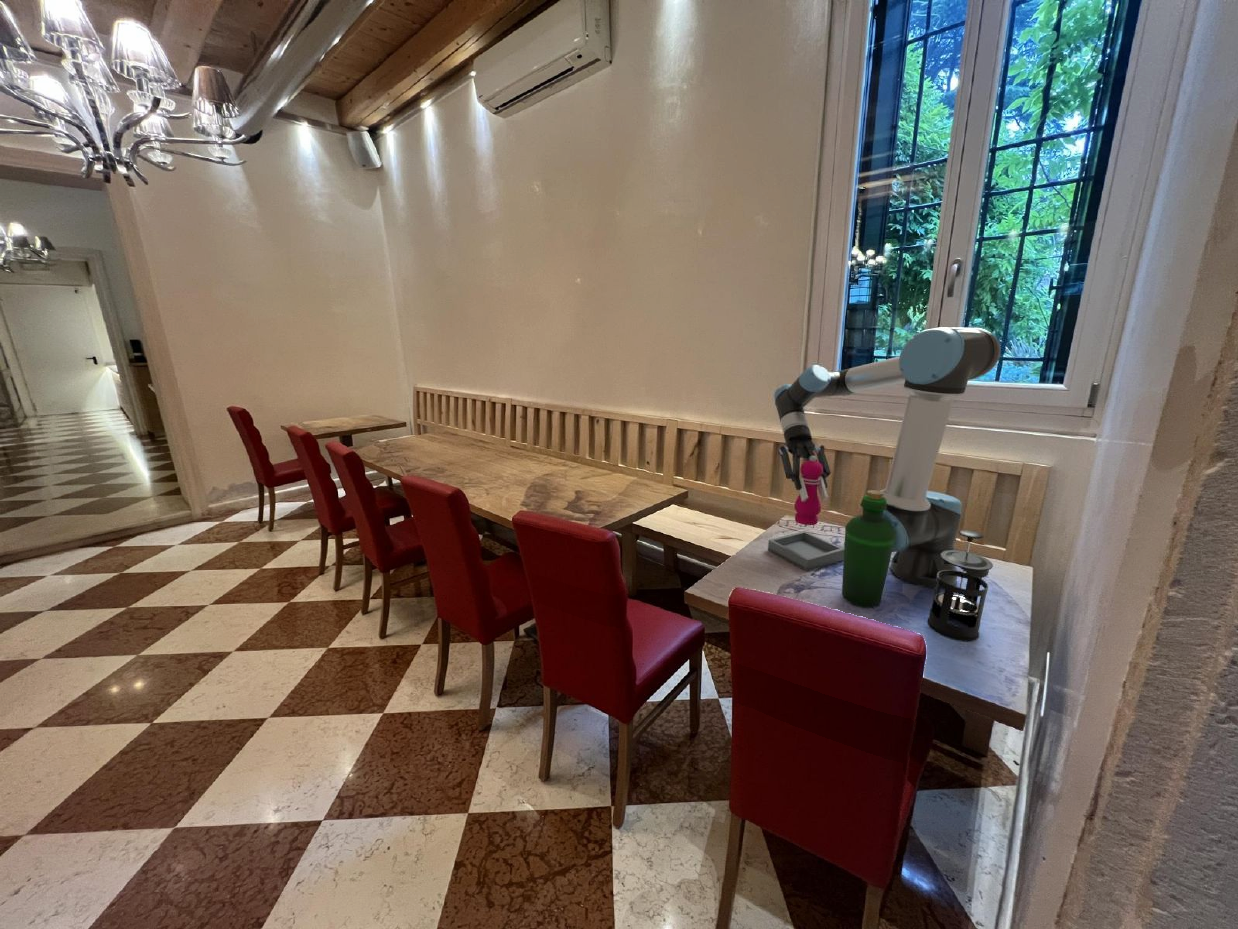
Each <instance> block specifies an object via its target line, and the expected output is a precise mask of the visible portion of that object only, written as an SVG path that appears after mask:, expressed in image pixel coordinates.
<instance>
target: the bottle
mask: <svg viewBox="0 0 1238 929" xmlns="http://www.w3.org/2000/svg"><path fill="white" fill-rule="evenodd" d="M882 496H883V492H881V490H875V489H870V490H869V489H868V490H867V494H864V495H863V497H862V499H861V502H860V506H861V508H862V514H863V515H862V514H859V515H857V516H854V517H852V518H851V519H850V520H849V521H848V522H847V524H845V529H844V530H845V531H844V533H845V534H844V545H843V546H844V547H843V548H844V560H843V563H842V564H843V565H842V566H843V567H842V582H841V583H842V585H841V588H842V589H841V595H842V598H843V599H844V600H845V601H846V602H849V603H850V604H852V605H853V606H858V607H860V606H861V607H860V608H869V607H870V608H871V609H872V608H876V607H879V606H880V604H881V602H882V598H883V592H884V590H885V584H886V581H887V576H888V570H889V566H890V564H891V559H892V558H891V556H892V553H893V552H892V549H893V545H894V540H895V536H896V531H895V529H894V528H893V526H892V525H891V524H890V523H889V522H888V521H886V520H885V519H884V518H882V515H883V511H884V510H886V509H887V503H886V498H885V497H882Z"/></svg>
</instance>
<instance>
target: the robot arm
mask: <svg viewBox="0 0 1238 929" xmlns="http://www.w3.org/2000/svg"><path fill="white" fill-rule="evenodd" d="M1001 348H1002V347H1001V344H1000V341H999V339H998V338H997V337H996V336H995V335H994V334H993V333H992V332H990V331H989V330H987V329H984V328H980V327H947V326H945V327H935V328H929V329H925V330H922V331H920V332H918V333H916V334H915V335H914V336H911V338H909V339H908V340H907V341H906V343H905V344H904V346H903V348H902V350H901V351H900V353H899V356H896V357H891V358H887V359H884V360H878V361H875V362H871V363H867V364H866V363H865V364H862V365H858V366H853V367H851V368H845V369H841V370H836V371H835V370H834V371H828V370H827V369H826V368H825V367H824V366H820V365H819V364H812V365H810V366H809V367H808V368H806V369H805V370H804V371H803V372H801V374H800V375H799V376H798V377H797V378H796V380H794V381H793V383H792V384H791V383H790V384H789V383H788V384H783V385H781V387H778V388H777V389H775V391H774V393H773V397H774V406H775V407H776V411H777V415H778V419H779V421H780V425H781V429H782V433H783V438H784V441H785V444H786V445H785V446H784V445H782V446H780V448H778V450H777V453H778V454H779V456H780V457H781V462H782V466H783V471H784V475H785V478H786V480H791V482H792V483H794V487H795V490H796V491H799V495H800V496H801V500H802V502H805V501H806V499H807V498H808V495H807V491H806V487H805V484H804V480H803V477H802V476H801V471H800V468H801V459H805V462H806V461H810V457H811V456H815V455H816V456H815V457H816V461H817V462H819V463H820V464H821V465H822V467H823V473H822V475H821V476H820V477H819V478H820V483H819V484H818V486H817V491H818V493H819V497H820V500H821V501H820V502H825V501H826V500H827V499H828V498H829V496H828V492H827V488H828V483H827V478H828V477H829V476H830V475H831V473H832V472H831V469H830V465H829V464H828V463H829V462H828V459H827V457H826V454H825V445H823V444H822V445H820V446H819V445H816V443H814V442H813V438H812V437H813V436H812V433H811V430H810V427H809V423H808V420H807V417H806V413H805V409H804V408H805V407H806V405H808V404H809V403H810V402H812V400H813V399H816V398H825V397H838V396H841V397H842V396H844V397H845V396H851V395H855V394H856V393H861V392H867V391H872V390H878V389H884V388H888V387H889V388H890V387H895V386H899V385H903V388H904V390H905V391H906V392H907V394H908V399H907V402H906V407H905V411H904V414H903V417H902V418H903V419H902V422H901V425H900V430H899V435H898V438H897V442H896V446H895V449H894V454H893V458H892V462H891V465H890V469H889V473H888V477H887V481H886V485H885V488H883V489H881V490H880V491H881V492H883V496H882V497H885V498H886V503H887V509H886V510H884V511H883V515H882V518H884V519H885V520H886V521H888V522H889V523H890V524H891V525H892V526H893V528H894V529H895V531H896V536H895V540H894V545H893V549H892V553H894V555H893V557H892V558H891V560H890V567H891V568H890V570H892V571H891V572H892V573H893V574H894V575H895V574H896V575H897V576H896V575H895V576H896V577H898V576H899V577H898V578H900V579H901V578H902V580H903V579H904V580H903V581H905V582H908V583H911V584H914V585H917V586H922V587H926V588H933V589H935V587H936V577H937V573H938V572H940V571H943V570H955V571H958V570H957V566H954V565H952V564H946V565H942V558H941V553H942V552H943V551H947V550H955V545H956V542H957V536H958V533H959V525H960V521H961V516H962V514H963V513H962V508H963V506H962V505H963V503H962V501H960V499H958V498H957V497H955V496H952V495H948V494H945V493H941V492H938V491H937V492H936V491H932V490H928V489H929V487H930V483H931V480H932V475H933V472H934V469H935V465H936V463H937V460H938V459H937V458H938V454H939V452H940V448H941V444H942V442H943V437H944V435H945V431H946V427H947V423H948V421H949V418H950V413H951V410H952V406H953V403H954V401H955V400H956V399H958V398H959V397H961V396H963V395H964V394H965V393H966V389H967V385H968V382H969V381H970V380H974V379H978V378H980V377H982V376H985V375H986V374H988V373H989V372H990V371H991V370H993V369H994V368H995V366H996V365H997V364H998V361H999V359H1000V357H1001V353H1002V352H1001V351H1002V349H1001ZM789 453H790V455H792V457H791V458H792V459H790V455H789ZM791 460H792V464H791ZM861 515H863V513H862V514H861ZM957 579H958V577H957V576H942V581H944V582H946V583H948V584H950V585H952V586H955V585H956V584H957ZM940 589H944V588H943V587H940Z"/></svg>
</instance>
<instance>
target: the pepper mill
mask: <svg viewBox="0 0 1238 929" xmlns="http://www.w3.org/2000/svg"><path fill="white" fill-rule="evenodd" d="M816 459H817V456H811V457H810V461H806V460H805V461H804V462H803V463H802V464H800V475H802V476H801V477H803V480H804V484H805V487H806V491H807V495H808V498H807V499H806V501H805V502H802V500H801V496H800V494H799V495H798V496H797V498H796V500H795V502H794V511H795V512H796V513H795V515H794V520H795V522H796V523H797V524H800V525H805V526H815V525H817V524H818V522H819V516H818V515H819V514H820V513H821V511H822V505H821V501H820V500H821V499H820V498H819V495H818V487H817V486H818V484H819V483H820V478H819V477H820V476H821V475H822V473H823V467H822V465H821V464H820V463H819V461H818V460H817V461H818V462H817V461H816Z"/></svg>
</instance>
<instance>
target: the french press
mask: <svg viewBox="0 0 1238 929" xmlns="http://www.w3.org/2000/svg"><path fill="white" fill-rule="evenodd" d="M958 534H959V535H961V536H963V537H965V538H966V537H967V539H966V541H967V542H968V543H967V547H966V548H967V549H966V551H965V550H959V549H958V550H956V549H954V550H947V551H943V552H942V553H941V558H942V565H946V564H952V565H954V566H956V568H957V567H958V568H960V569H961V570H962V571H961V570H957V571H955V570H943V571H940V572H938V573H937V577H936V587H935V588H934V594H933V599H932V604H931V607H930V612H929V615H928V616H929V617H928V618H927V622H926V623H927V625H928V626H929V628H930V629H931V630H932V631H933V632H935V633H936V634H939V635H940V636H943V637H945V638H947V639H951V640H953V641H956V642H957V641H958V642H974V641H977V640H978V639H979V638H980V631H979V630H980V627H981V620H982V616H983V611H984V607H985V601H986V597H987V593H988V591H989V590H988V589H989V584H988V583H987V582H986V581H985V580H984V579H983V578H986V577H987V576H989V572H990V570H992V569H993V566H994V564H993V562H992V561H991V560H990V559H987V558H986V557H983V555H982V556H981V555H979V554H976V553H973V552H970V548H971V543H973V542H974V541H973V540H974V539H975V540H976V539H978V540H979V539H981V540H982V539H983V538H985V537H984V535H983V534H982V533H980V532H978V531H974V530H969V529H968V530H967V529H960V530H958ZM942 576H957V578H961V580H960V583H959V586H955V585H954V586H952V585H950V584H948V583H946V582H944V581H942ZM964 579H966V580H967V581H966V584H965V585H966V586H965V588H962V586H963V581H964ZM981 586H982V587H983V589H981ZM940 587H943V588H942V589H944V590H943V591H944V592H941V593H940V591H941V588H940ZM978 598H979V602H978ZM949 620H951V621H955V622H959V623H960V624H963V625H964V626H962V625H956V624H954V623H951V622H949Z"/></svg>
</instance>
